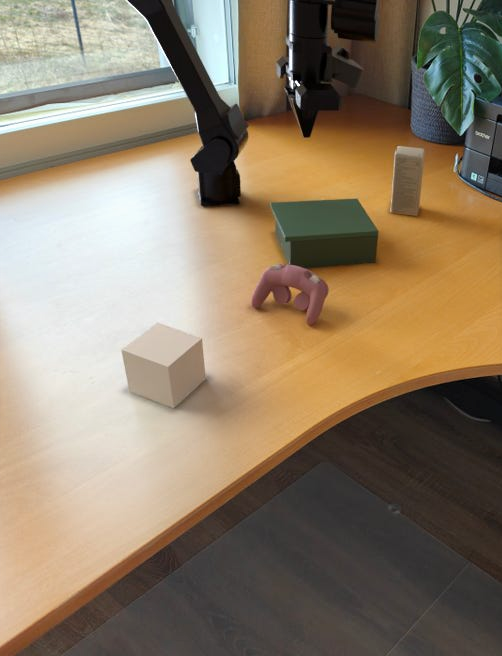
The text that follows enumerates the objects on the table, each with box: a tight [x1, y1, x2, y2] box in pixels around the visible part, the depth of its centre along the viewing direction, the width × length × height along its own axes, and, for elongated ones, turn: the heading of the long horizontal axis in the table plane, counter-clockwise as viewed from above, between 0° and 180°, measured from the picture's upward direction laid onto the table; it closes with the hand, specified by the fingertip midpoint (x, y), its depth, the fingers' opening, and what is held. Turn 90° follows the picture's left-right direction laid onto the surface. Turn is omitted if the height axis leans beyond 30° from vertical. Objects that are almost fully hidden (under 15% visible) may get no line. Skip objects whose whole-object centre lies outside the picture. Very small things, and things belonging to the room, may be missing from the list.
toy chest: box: [274, 218, 379, 270], centre depth 105 cm, size 14×12×5 cm
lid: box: [269, 198, 380, 242], centre depth 103 cm, size 14×12×1 cm
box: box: [389, 145, 426, 217], centre depth 118 cm, size 5×4×11 cm
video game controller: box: [250, 263, 330, 326], centre depth 90 cm, size 10×5×7 cm, turn 71°
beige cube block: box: [120, 322, 207, 409], centre depth 75 cm, size 6×6×6 cm
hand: (306, 136), depth 108 cm, fingers closed
